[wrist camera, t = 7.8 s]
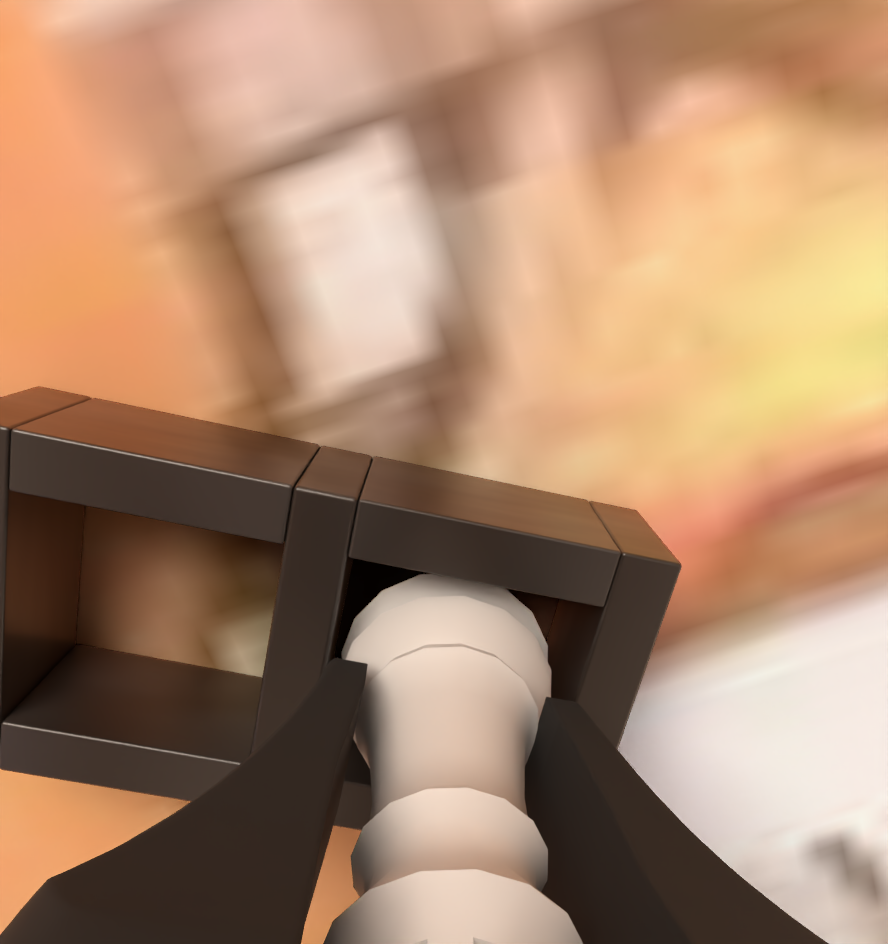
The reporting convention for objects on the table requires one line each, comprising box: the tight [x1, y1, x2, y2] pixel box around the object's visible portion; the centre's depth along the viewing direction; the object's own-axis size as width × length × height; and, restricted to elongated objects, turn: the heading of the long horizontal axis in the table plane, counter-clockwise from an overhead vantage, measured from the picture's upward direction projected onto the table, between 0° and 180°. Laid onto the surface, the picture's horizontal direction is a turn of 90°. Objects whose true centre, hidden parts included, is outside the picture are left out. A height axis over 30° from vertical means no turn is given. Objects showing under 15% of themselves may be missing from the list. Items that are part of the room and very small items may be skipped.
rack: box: [0, 387, 681, 830], centre depth 15 cm, size 14×7×3 cm, turn 78°
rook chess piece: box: [323, 574, 583, 944], centre depth 11 cm, size 4×4×8 cm
